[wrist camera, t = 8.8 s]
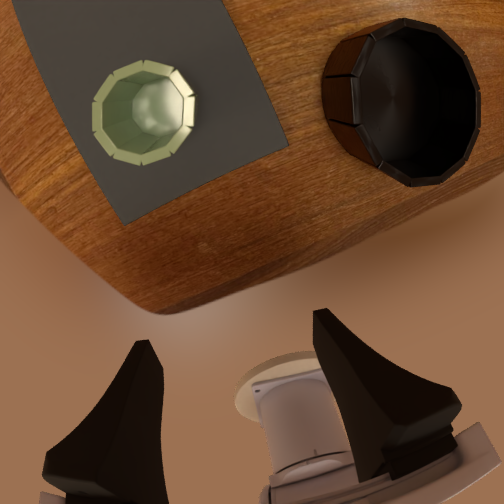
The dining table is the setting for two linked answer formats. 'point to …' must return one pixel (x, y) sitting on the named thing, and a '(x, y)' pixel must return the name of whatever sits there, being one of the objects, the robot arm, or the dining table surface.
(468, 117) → the large pot
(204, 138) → the mat
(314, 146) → the dining table surface
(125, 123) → the small pot
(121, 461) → the robot arm
